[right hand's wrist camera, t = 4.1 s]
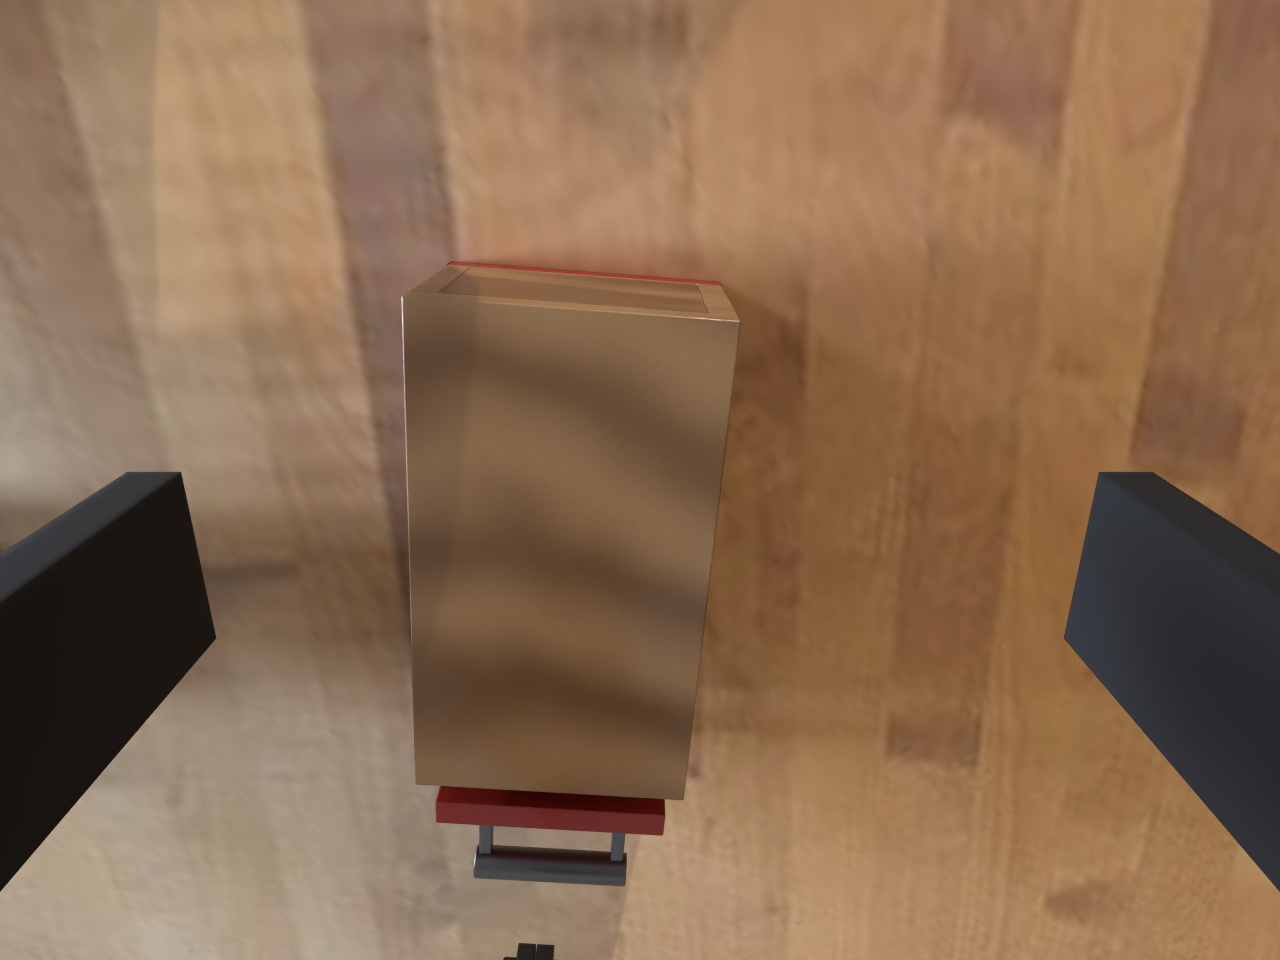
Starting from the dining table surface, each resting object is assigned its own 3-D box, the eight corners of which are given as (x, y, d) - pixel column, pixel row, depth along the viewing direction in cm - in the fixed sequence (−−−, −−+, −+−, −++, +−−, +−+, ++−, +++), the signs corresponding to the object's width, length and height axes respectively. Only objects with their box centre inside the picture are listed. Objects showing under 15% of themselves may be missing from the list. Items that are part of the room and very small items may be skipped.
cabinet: (676, 686, 44) (683, 801, 37) (453, 672, 44) (414, 785, 36) (720, 281, 36) (741, 320, 29) (450, 261, 36) (400, 294, 29)
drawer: (652, 823, 46) (653, 921, 41) (462, 812, 46) (437, 909, 40) (697, 385, 37) (707, 430, 31) (461, 367, 37) (428, 411, 31)
